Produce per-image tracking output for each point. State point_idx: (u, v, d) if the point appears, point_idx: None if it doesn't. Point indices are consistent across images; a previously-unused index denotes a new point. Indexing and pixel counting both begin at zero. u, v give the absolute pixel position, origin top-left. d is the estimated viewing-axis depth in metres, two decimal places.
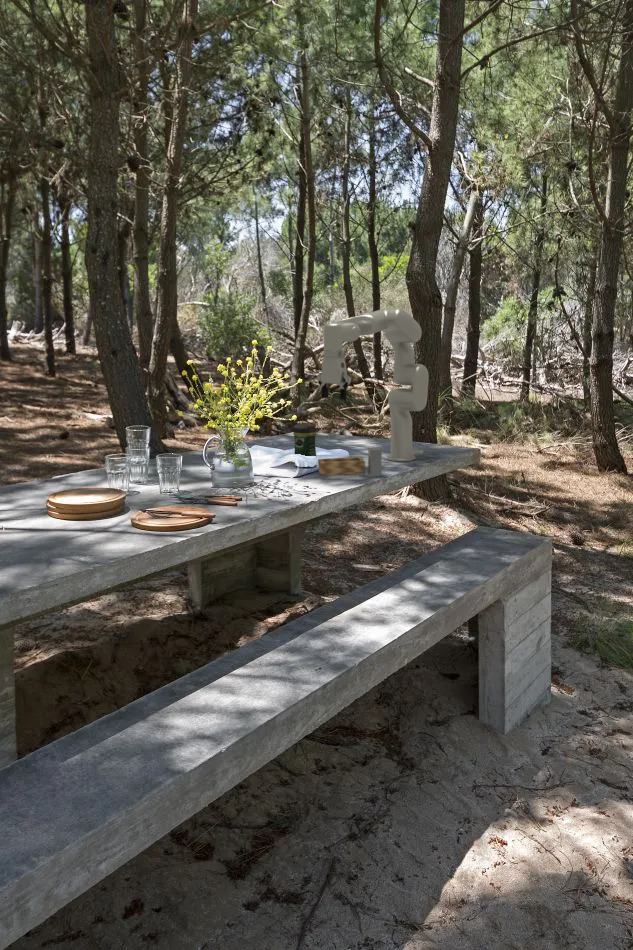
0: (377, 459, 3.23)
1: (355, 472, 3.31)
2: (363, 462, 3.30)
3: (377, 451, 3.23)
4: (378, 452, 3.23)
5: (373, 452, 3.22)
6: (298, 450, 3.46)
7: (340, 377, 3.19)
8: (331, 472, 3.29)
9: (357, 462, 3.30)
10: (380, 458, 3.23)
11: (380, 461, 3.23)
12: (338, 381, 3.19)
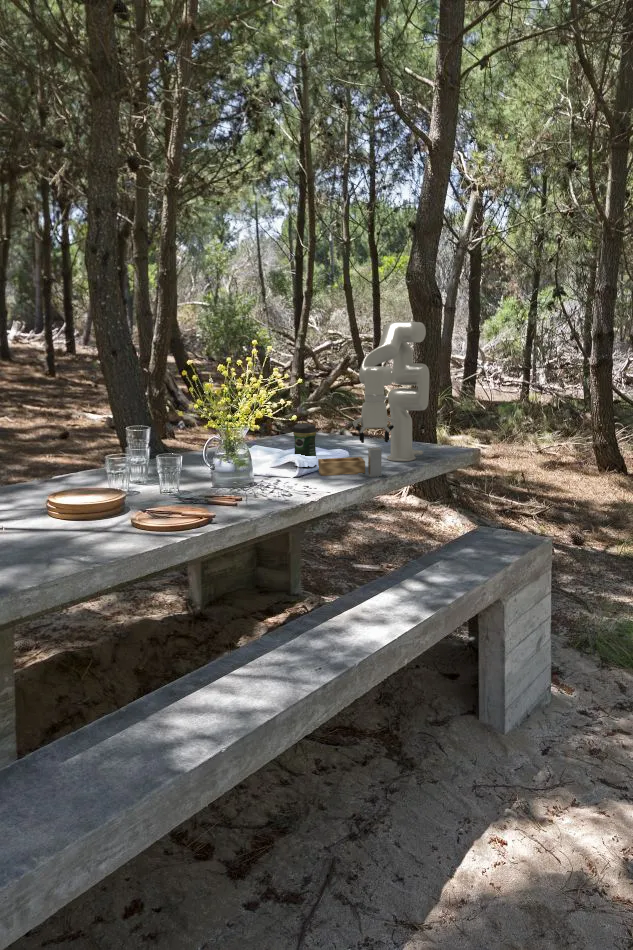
0: (377, 459, 3.23)
1: (355, 472, 3.31)
2: (363, 462, 3.30)
3: (377, 451, 3.23)
4: (378, 452, 3.23)
5: (373, 452, 3.22)
6: (298, 450, 3.46)
7: (387, 420, 3.21)
8: (331, 472, 3.29)
9: (357, 462, 3.30)
10: (380, 458, 3.23)
11: (380, 461, 3.23)
12: (385, 425, 3.21)
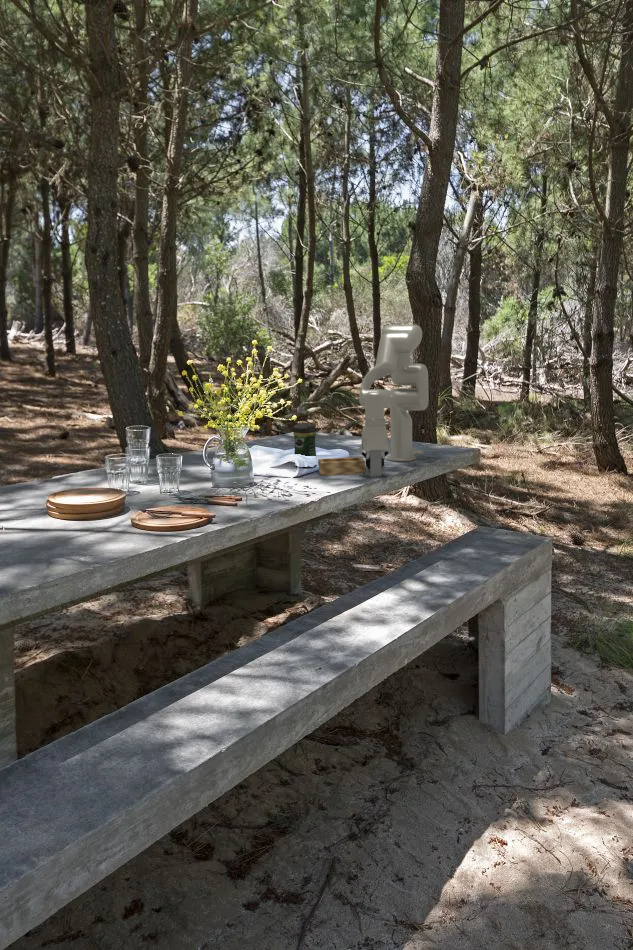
0: (377, 459, 3.23)
1: (355, 472, 3.31)
2: (363, 462, 3.30)
3: (377, 451, 3.22)
4: (378, 452, 3.23)
5: (373, 452, 3.22)
6: (298, 450, 3.46)
7: (387, 444, 3.23)
8: (331, 472, 3.29)
9: (357, 462, 3.30)
10: (380, 458, 3.23)
11: (380, 461, 3.23)
12: (386, 448, 3.23)
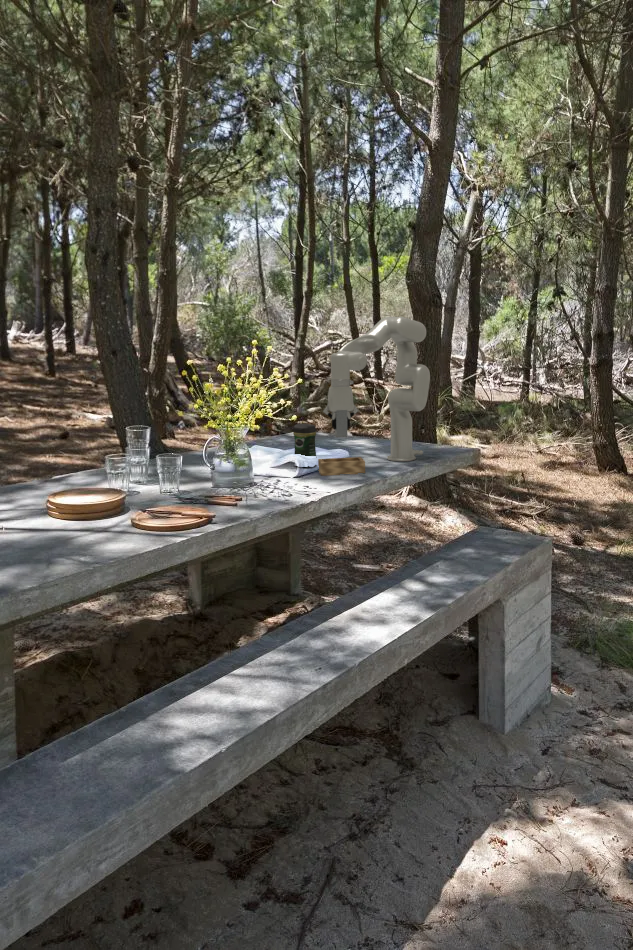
0: (343, 420, 3.28)
1: (355, 472, 3.31)
2: (363, 462, 3.30)
3: (343, 411, 3.28)
4: (344, 412, 3.28)
5: (338, 412, 3.28)
6: (298, 450, 3.46)
7: (353, 405, 3.29)
8: (331, 472, 3.29)
9: (357, 462, 3.30)
10: (346, 418, 3.29)
11: (346, 421, 3.29)
12: (351, 409, 3.28)
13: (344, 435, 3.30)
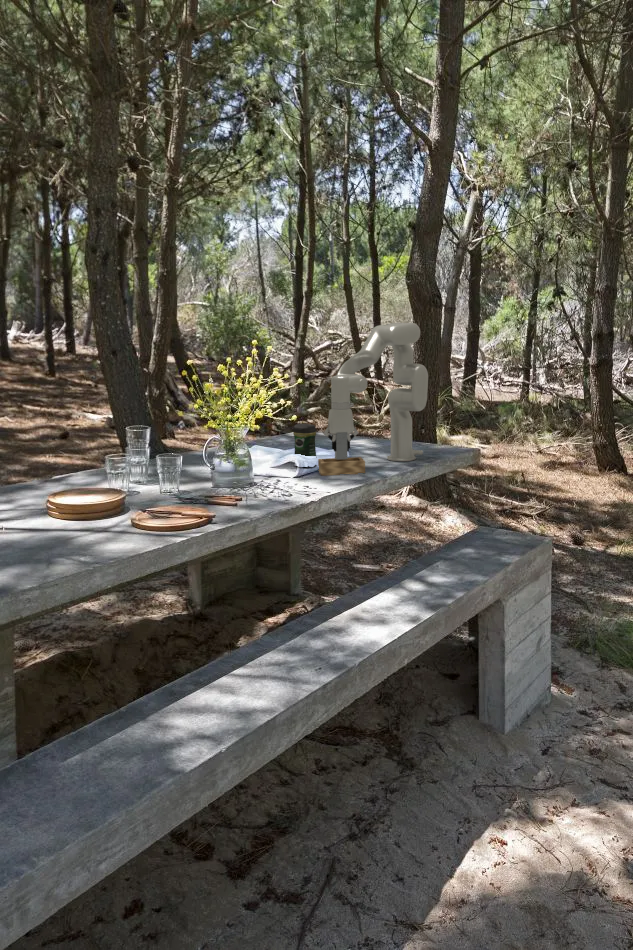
0: (343, 442, 3.30)
1: (355, 472, 3.31)
2: (363, 462, 3.30)
3: (343, 434, 3.30)
4: (344, 435, 3.30)
5: (339, 434, 3.29)
6: (298, 450, 3.46)
7: (353, 427, 3.30)
8: (331, 472, 3.29)
9: (357, 462, 3.30)
10: (346, 441, 3.30)
11: (346, 444, 3.30)
12: (351, 431, 3.30)
13: (344, 457, 3.31)
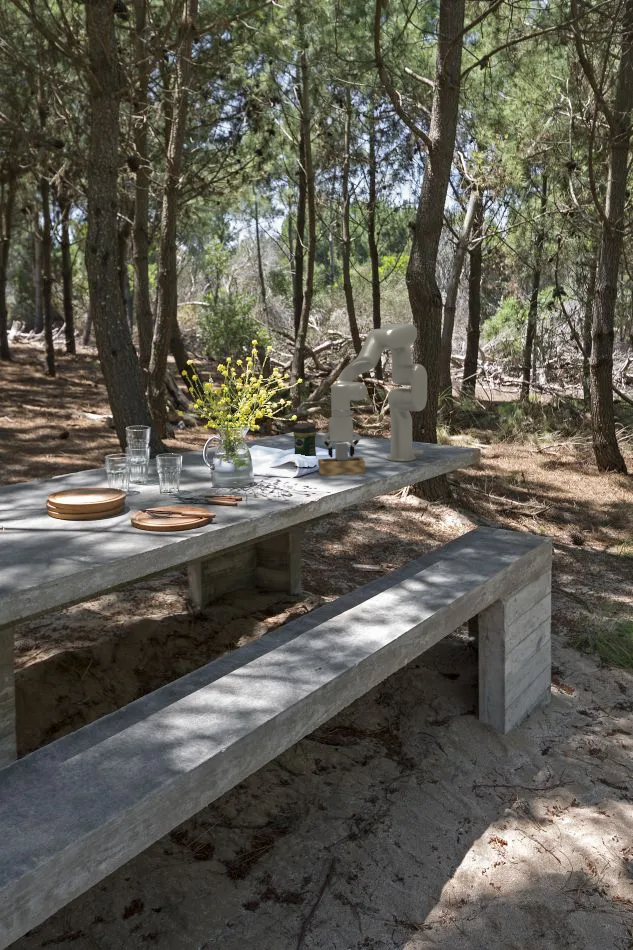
0: (343, 454, 3.31)
1: (355, 472, 3.31)
2: (363, 462, 3.30)
3: (343, 446, 3.31)
4: (344, 447, 3.31)
5: (339, 447, 3.31)
6: (298, 450, 3.46)
7: (353, 435, 3.31)
8: (331, 472, 3.29)
9: (357, 462, 3.30)
10: (346, 453, 3.31)
11: (346, 456, 3.32)
12: (351, 439, 3.31)
13: None
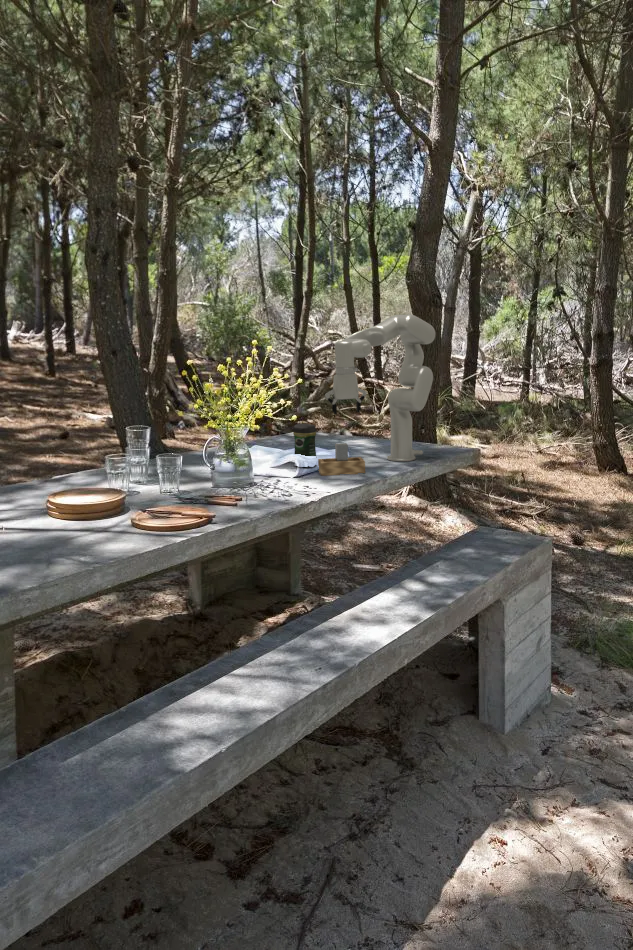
0: (343, 454, 3.31)
1: (355, 472, 3.31)
2: (363, 462, 3.30)
3: (343, 446, 3.31)
4: (344, 447, 3.31)
5: (339, 447, 3.31)
6: (298, 450, 3.46)
7: None
8: (331, 472, 3.29)
9: (357, 462, 3.30)
10: (346, 453, 3.31)
11: (346, 456, 3.32)
12: (356, 395, 3.33)
13: None
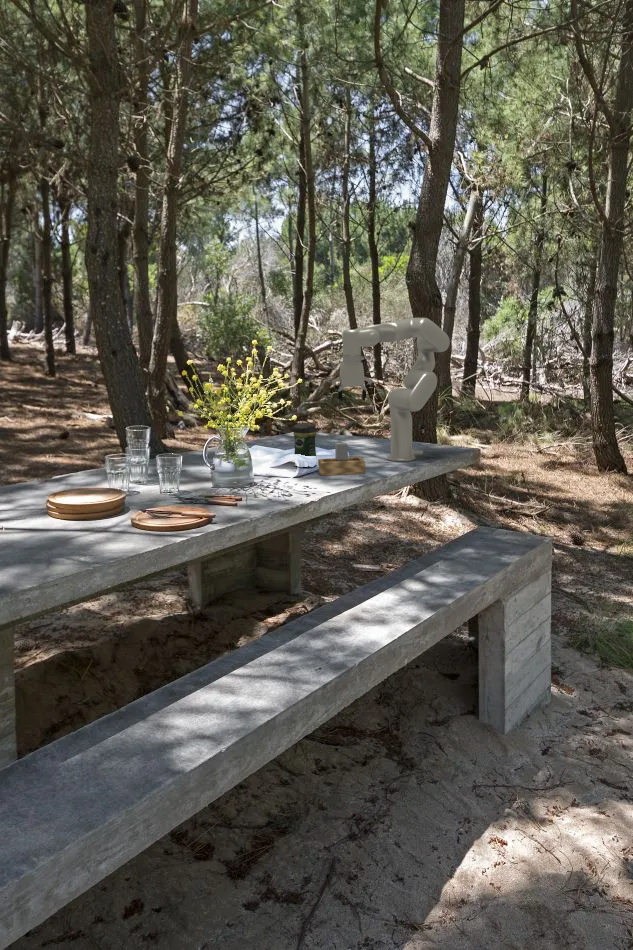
0: (343, 454, 3.31)
1: (355, 472, 3.31)
2: (363, 462, 3.30)
3: (343, 446, 3.31)
4: (344, 447, 3.31)
5: (339, 447, 3.31)
6: (298, 450, 3.46)
7: None
8: (331, 472, 3.29)
9: (357, 462, 3.30)
10: (346, 453, 3.31)
11: (346, 456, 3.32)
12: (362, 383, 3.40)
13: None
